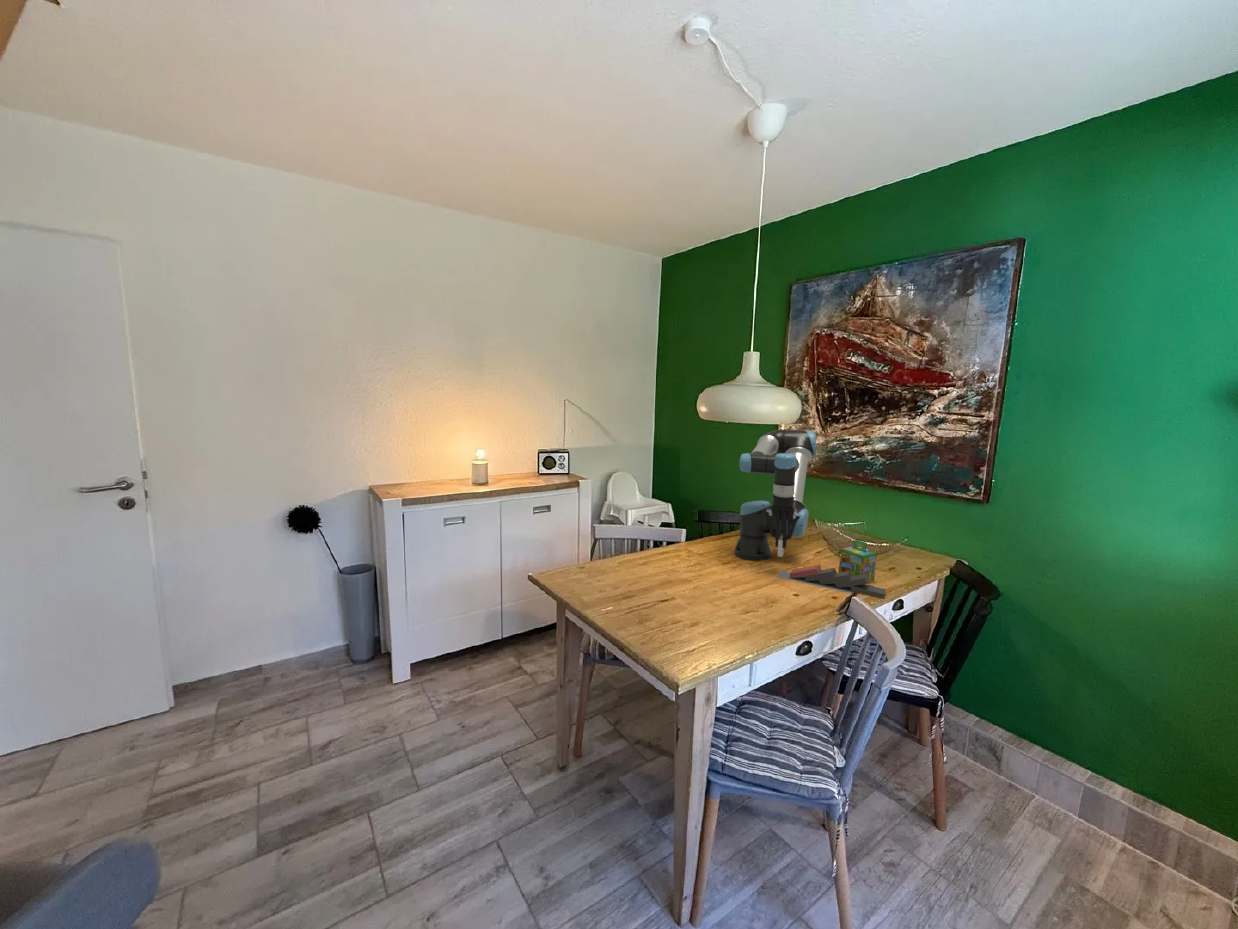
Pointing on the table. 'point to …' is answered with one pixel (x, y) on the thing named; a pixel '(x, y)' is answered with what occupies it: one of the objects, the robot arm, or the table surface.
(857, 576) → the domino
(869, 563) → the chalk box
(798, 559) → the table surface
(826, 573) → the domino
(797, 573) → the domino
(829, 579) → the domino
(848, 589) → the mat
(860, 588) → the domino
